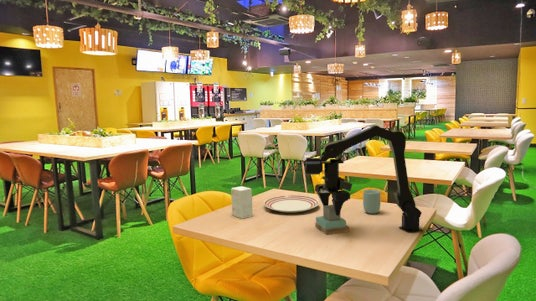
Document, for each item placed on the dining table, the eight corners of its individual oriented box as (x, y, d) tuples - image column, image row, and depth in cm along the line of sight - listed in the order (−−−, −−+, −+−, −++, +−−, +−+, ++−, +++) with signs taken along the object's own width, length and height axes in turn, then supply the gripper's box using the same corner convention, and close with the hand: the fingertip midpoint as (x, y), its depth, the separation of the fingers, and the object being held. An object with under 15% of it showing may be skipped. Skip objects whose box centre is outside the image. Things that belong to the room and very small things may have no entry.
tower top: (346, 226, 151) (346, 220, 150) (325, 229, 148) (325, 223, 148) (336, 220, 159) (335, 214, 159) (316, 222, 157) (316, 217, 156)
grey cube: (340, 219, 152) (340, 207, 151) (329, 221, 150) (329, 208, 150) (334, 216, 157) (333, 204, 156) (323, 217, 155) (323, 205, 154)
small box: (253, 216, 175) (252, 188, 174) (241, 219, 171) (240, 190, 170) (242, 212, 181) (241, 185, 180) (231, 215, 177) (230, 187, 176)
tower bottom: (349, 232, 151) (349, 226, 150) (326, 236, 148) (326, 230, 147) (336, 225, 160) (336, 219, 160) (315, 228, 157) (315, 223, 157)
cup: (382, 214, 171) (382, 193, 170) (365, 215, 171) (365, 193, 170) (377, 210, 179) (378, 189, 178) (361, 210, 179) (361, 189, 178)
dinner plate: (317, 217, 172) (317, 209, 171) (258, 215, 177) (257, 208, 177) (321, 201, 198) (321, 195, 198) (269, 200, 204) (269, 194, 203)
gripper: (362, 176, 145) (362, 216, 147) (337, 169, 162) (337, 204, 164) (336, 179, 141) (337, 219, 143) (314, 171, 159) (314, 207, 161)
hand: (331, 212), depth 153 cm, fingers open, 9 cm apart
